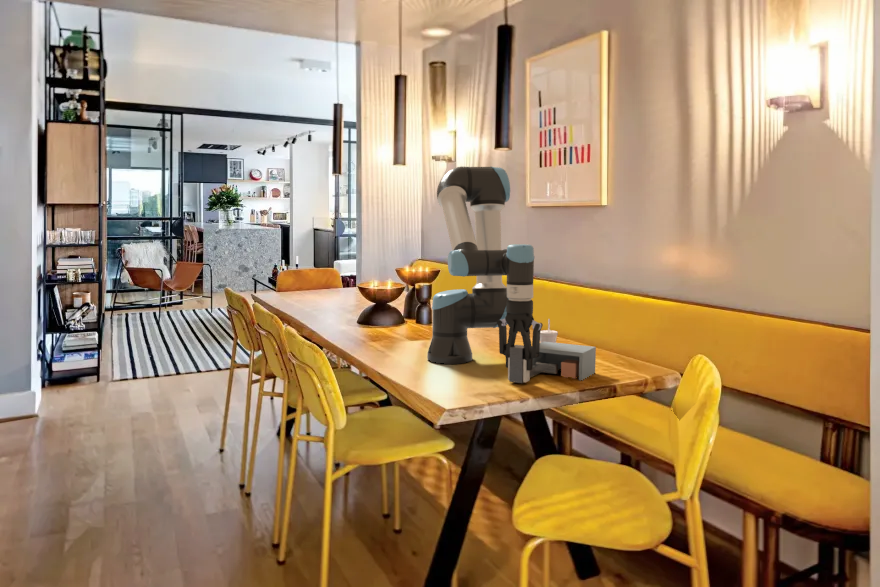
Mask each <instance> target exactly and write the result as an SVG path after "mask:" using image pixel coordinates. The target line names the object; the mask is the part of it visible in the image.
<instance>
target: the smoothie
mask: <svg viewBox="0 0 880 587" xmlns="http://www.w3.org/2000/svg"><path fill="white" fill-rule="evenodd" d="M547 319H548V320H547V329H546V330H545V329H544V330H543V329H541V331H540V343H541V342H554V343H557V336H559V334H558V333H559V332H558V331H556V330H551V328H550V327H551V320H550V318H547Z"/></svg>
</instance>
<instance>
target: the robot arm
mask: <svg viewBox="0 0 880 587" xmlns="http://www.w3.org/2000/svg"><path fill="white" fill-rule="evenodd" d="M436 198H437V203H438V205H439V206H440V207H441V209H442V211H443V214H444V219H445V223H446V228H447V233H448V238H449V241H450V245H451V250H450V251H449V253H448V255H447V269H448V273H449V275H451V276H454V277H476V283H475V284H474V286H473V287H472V288H471V289H472V290H471V292H472V293H468V290H467V289H463V288H462V289H461V288H460V289H459V288H458V289H450V290H448V289H447V290H444V291H440V292H437V293H436V294H434V295H433V297H432V302H431V303H432V304H431V309H432V337H431V338H432V339H431V341H430V344H429V347H428V350H427V359H428V360H430V361H432V362H431V363H433V362H436V363H435V364H440V363H444V364H443V365H457V364H458V365H459V364H466V362H467V363H469V362H472V361H473V351H472V348H471V345H470V341H469V339H468V329H487V328H489V329H490V328H492V329H496V328H498V339H499V340H498V342H499V344H498V346H499V347H498V348H499V350H498V352H499V354H500V355H503V356H504V357H505V368H507V380H508V381H509V369H510V347H511V346H514V345H516V344H515V343H516V340H517V334H518V333H520V336H521V337H522V343H523V346H524V350H525V356H526V358H525V359H523V382H524V383H527V382H529V381H530V378H531V377H530V370H532V365H533V358H536V357H538V356H539V349H540V331H542V328H543V323H542V322H537V321H536V320H535V318H534V316H533V313H534V300H532V299H533V298H534V274H535V273H534V272H535V271H534V270H535V268H534V267H535V266H534V264H535V254H534V253H535V250H534V246H533V245H532V244H524V243H521V244H520V243H517V244H516V243H515V244H509V245H507V247H506V249H505V248H504V249H502V228H501V227H502V226H501V223H502V222H501V220H502V219H501V212H502V211H503V209H504V208H505V207H506V206H505V205H506V204H505V203H507V202H509V200H510V198H511V183H510V178H509V175H508V173H507V172H506V170H505V169H504V168H503V167H498V166H496V167H495V166H457V167H454V168H452V169H450V170H449V171H448V172H446V173H445V174H444V175H443V176H442V177H441V179H440V181H439V183H438V186H437V189H436ZM467 203H470V204H469V205H470V209H471V210H472V211H473V212H474V219H475V220H474V221H475V222H474V227H475V234H474V228H473V226H472V221H471V219H470V215H469V214H470V213H469V211H468V210H469V209H468V207H467ZM503 276H506V285H505V284H504V283H503ZM507 326H508V328H509V329H507ZM531 327H532V340H531V331H530V328H531ZM507 330H508V334H507ZM531 341H532V342H531ZM428 360H427V361H428ZM430 361H429V362H430Z"/></svg>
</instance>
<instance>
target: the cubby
mask: <svg viewBox="0 0 880 587" xmlns="http://www.w3.org/2000/svg"><path fill="white" fill-rule="evenodd" d="M596 353H597V347H596V346H591V345H581V344H580V345H579V344H572V343H571V344H570V343H561V342H556V343H554V342H541V343H540V349H539V356H538V357H536V358H533V364H535V363H536V362H538V361H540V362H548V363H556V364H558V370H559V369H561V362H563V361H565V360H567V359H568V360H577V361H579V377H578V381H581V380H582V381H584V380H586V379H588V378H589V376H590V375H591V376H593V375H595V374H596V362H597V361H596V358H597V357H596V356H597V354H596ZM594 373H595V374H594ZM592 374H593V375H592ZM591 376H590V377H591ZM587 377H588V378H587ZM585 378H586V379H585ZM583 379H584V380H583Z"/></svg>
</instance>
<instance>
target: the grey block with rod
mask: <svg viewBox="0 0 880 587" xmlns="http://www.w3.org/2000/svg"><path fill="white" fill-rule="evenodd" d="M525 358H526V356H525V350H524V344H523V345H522V344H515V345H514V346H511V347H510V369H509V380H508V381H509V382H511V383H518V384H524V383H525V382H523V359H525ZM558 372H559V369H558V364H556V363H548V362H540V361H538V362H536V363H535V364H533V365H532V370H530V378H533V377H534V376H536V375H539V374H540V373H547V374H554V375H556V374H558Z"/></svg>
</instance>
